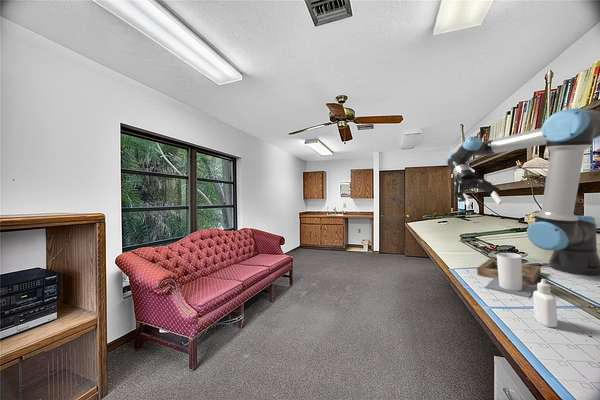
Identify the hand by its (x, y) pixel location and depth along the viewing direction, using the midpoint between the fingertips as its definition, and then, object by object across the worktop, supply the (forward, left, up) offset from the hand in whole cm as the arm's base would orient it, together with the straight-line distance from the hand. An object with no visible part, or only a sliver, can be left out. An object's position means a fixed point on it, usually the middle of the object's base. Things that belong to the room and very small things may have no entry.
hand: (484, 203), depth 111 cm
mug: (-13, +24, -29) cm, 40 cm away
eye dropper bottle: (-24, +46, -29) cm, 60 cm away
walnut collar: (-9, +9, -29) cm, 32 cm away
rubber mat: (-13, +25, -29) cm, 40 cm away
